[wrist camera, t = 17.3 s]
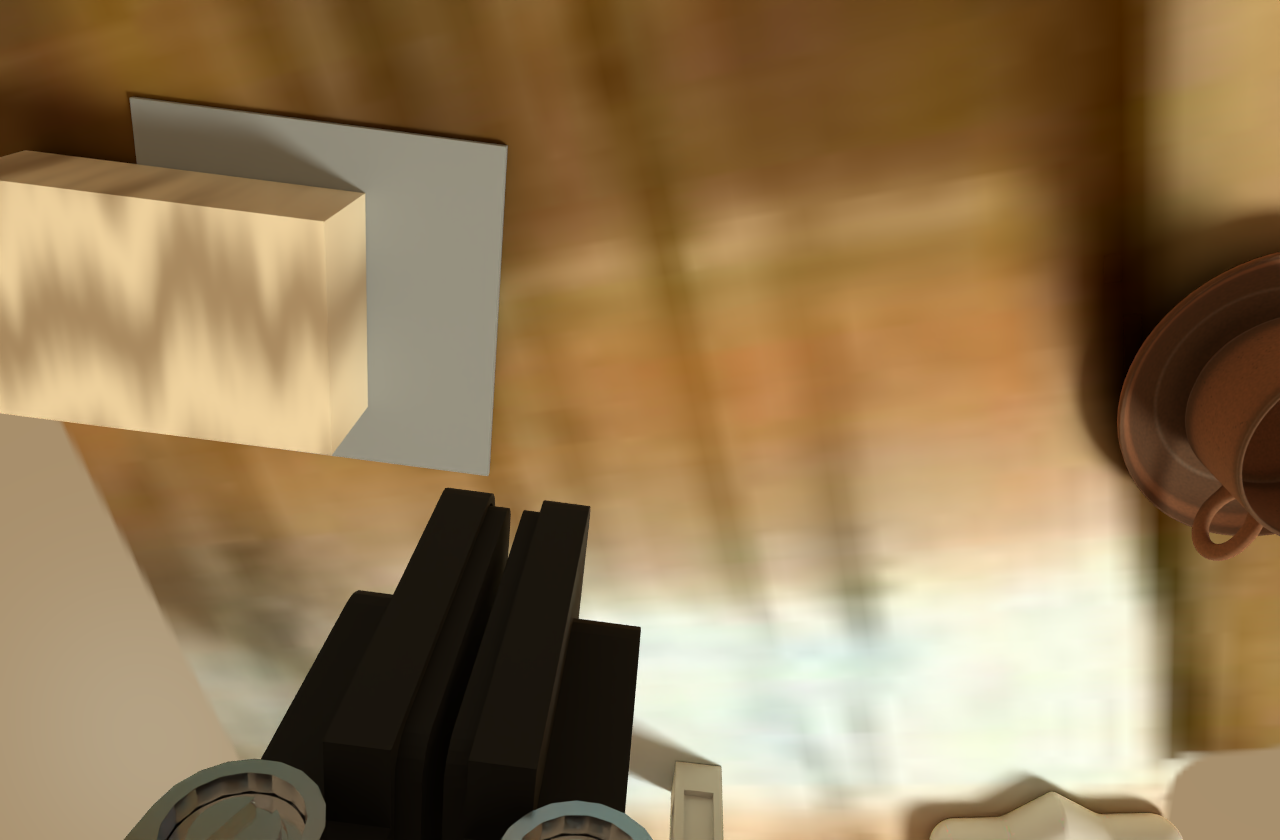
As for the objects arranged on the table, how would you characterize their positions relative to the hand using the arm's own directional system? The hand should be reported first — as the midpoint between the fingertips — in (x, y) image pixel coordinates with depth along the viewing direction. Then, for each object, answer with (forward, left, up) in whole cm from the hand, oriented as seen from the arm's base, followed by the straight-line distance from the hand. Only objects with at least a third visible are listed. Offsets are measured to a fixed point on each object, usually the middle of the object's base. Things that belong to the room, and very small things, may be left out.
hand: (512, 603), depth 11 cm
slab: (+7, -10, -24) cm, 27 cm away
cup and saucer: (+5, +25, -28) cm, 38 cm away
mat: (+7, -12, -27) cm, 30 cm away
